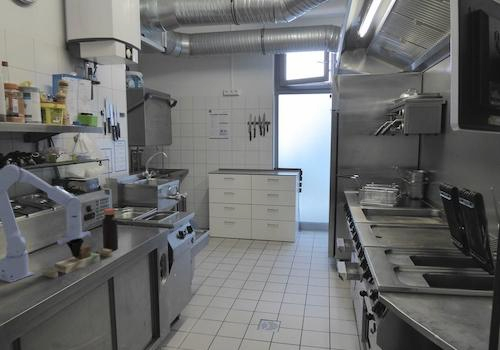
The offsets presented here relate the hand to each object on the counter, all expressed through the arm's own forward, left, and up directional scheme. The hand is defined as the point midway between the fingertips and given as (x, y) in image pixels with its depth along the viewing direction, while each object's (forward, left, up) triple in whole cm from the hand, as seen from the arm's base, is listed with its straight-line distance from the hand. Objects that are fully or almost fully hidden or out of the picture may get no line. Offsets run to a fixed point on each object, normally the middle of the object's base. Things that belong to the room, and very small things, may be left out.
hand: (75, 256), depth 151 cm
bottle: (+24, +5, -5) cm, 25 cm away
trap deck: (+3, 0, -4) cm, 5 cm away
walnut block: (+4, 0, -1) cm, 4 cm away
